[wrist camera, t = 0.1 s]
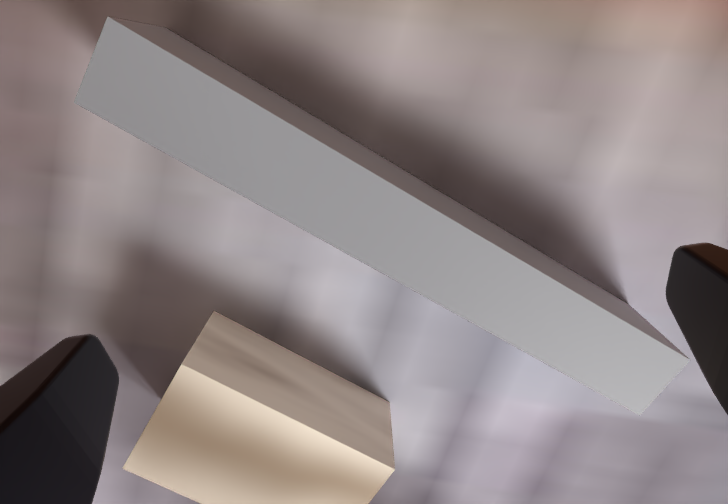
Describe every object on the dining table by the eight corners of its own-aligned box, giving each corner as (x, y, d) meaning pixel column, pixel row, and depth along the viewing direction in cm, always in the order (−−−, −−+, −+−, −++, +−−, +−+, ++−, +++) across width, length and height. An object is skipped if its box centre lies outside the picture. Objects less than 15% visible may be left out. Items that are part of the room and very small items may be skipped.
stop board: (589, 352, 26) (639, 415, 21) (136, 94, 22) (73, 102, 17) (629, 304, 25) (690, 360, 20) (165, 27, 21) (107, 16, 16)
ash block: (331, 478, 29) (325, 558, 24) (164, 398, 27) (122, 468, 22) (389, 399, 27) (395, 469, 23) (214, 308, 25) (181, 364, 21)
